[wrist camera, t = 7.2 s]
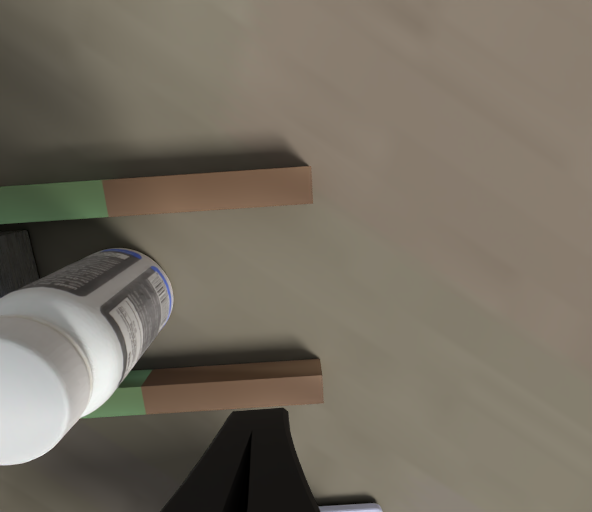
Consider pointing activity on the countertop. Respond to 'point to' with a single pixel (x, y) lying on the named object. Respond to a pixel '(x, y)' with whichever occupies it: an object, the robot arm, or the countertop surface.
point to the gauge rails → (170, 199)
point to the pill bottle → (74, 344)
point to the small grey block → (16, 261)
